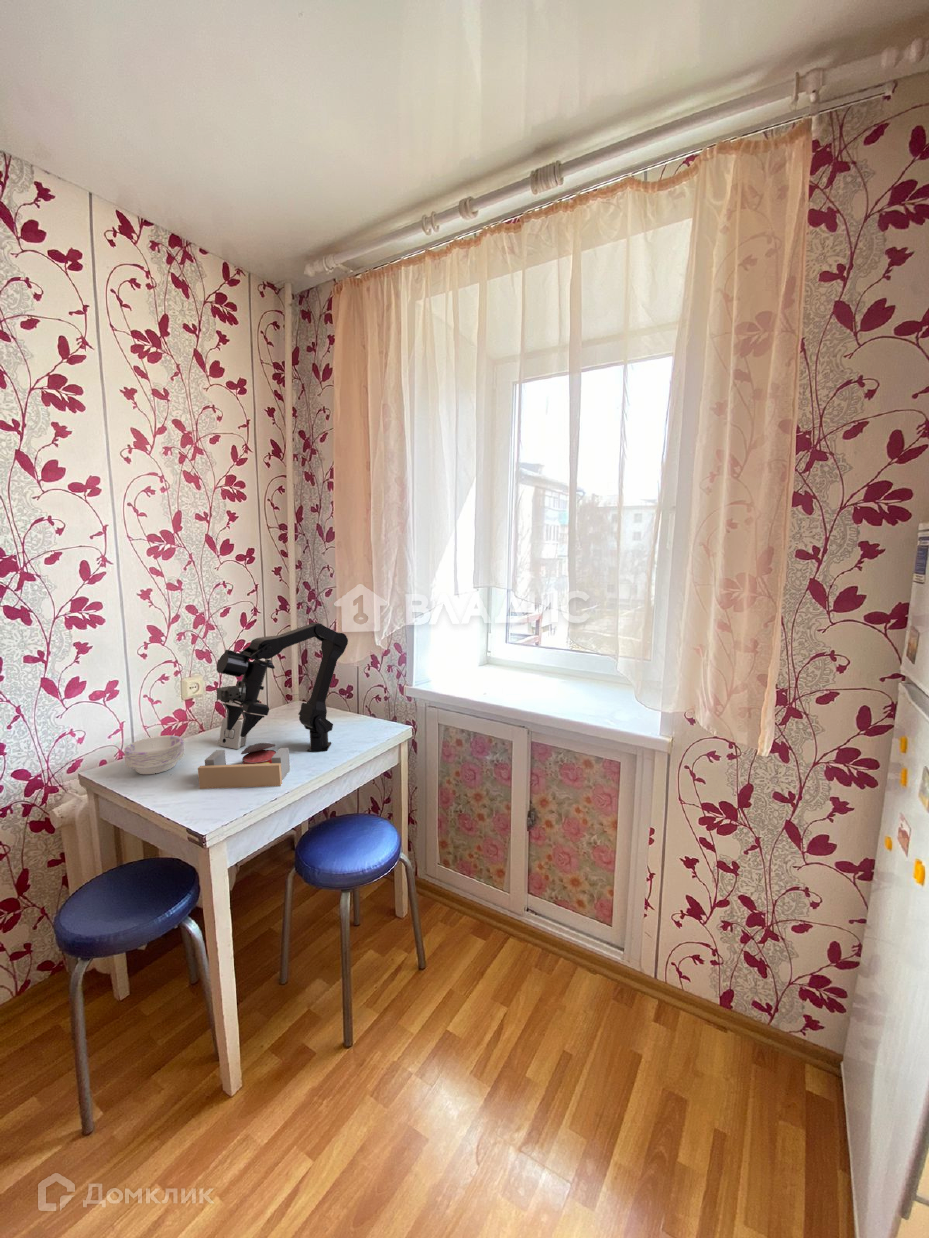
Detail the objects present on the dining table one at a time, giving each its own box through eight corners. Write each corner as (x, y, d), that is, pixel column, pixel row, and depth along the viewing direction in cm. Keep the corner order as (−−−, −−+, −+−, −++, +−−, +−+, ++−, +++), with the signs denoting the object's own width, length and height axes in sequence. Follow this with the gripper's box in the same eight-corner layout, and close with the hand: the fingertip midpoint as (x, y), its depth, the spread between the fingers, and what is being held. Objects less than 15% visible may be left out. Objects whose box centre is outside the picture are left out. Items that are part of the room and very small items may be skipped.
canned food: (245, 785, 148) (226, 758, 146) (262, 767, 157) (245, 742, 156) (274, 771, 145) (255, 743, 144) (290, 753, 155) (273, 727, 153)
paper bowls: (197, 761, 154) (194, 737, 153) (151, 782, 140) (149, 755, 139) (161, 755, 160) (159, 731, 158) (114, 775, 145) (111, 749, 144)
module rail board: (216, 772, 146) (214, 750, 145) (291, 770, 146) (290, 747, 145) (199, 788, 136) (197, 764, 135) (280, 785, 136) (278, 761, 136)
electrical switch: (218, 746, 167) (218, 718, 166) (231, 742, 171) (231, 715, 171) (237, 750, 163) (237, 722, 162) (250, 746, 167) (250, 719, 167)
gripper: (212, 670, 145) (194, 722, 142) (239, 679, 132) (220, 737, 129) (248, 677, 153) (232, 728, 150) (277, 687, 140) (260, 741, 137)
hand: (235, 733), depth 141 cm, fingers open, 9 cm apart
